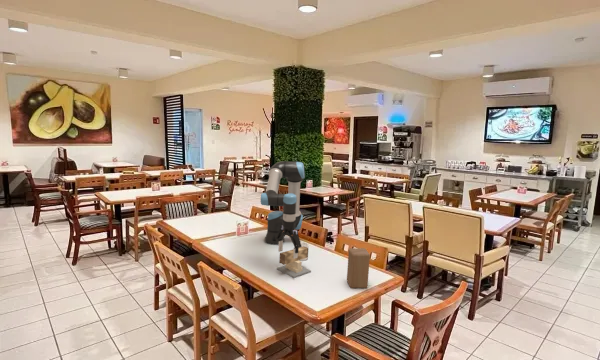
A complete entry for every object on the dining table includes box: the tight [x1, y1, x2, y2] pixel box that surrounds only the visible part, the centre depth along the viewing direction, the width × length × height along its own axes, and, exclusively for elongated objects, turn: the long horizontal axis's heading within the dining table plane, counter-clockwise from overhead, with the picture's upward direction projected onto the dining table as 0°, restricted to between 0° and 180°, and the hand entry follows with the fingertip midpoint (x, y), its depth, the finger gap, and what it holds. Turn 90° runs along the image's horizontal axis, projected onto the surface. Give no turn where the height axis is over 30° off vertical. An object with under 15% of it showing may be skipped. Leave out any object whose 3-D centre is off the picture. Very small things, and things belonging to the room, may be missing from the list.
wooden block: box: [346, 247, 371, 289], centre depth 189 cm, size 10×10×20 cm
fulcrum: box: [276, 260, 312, 279], centre depth 205 cm, size 14×16×7 cm
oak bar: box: [278, 247, 309, 266], centre depth 204 cm, size 20×4×6 cm, turn 133°
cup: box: [296, 241, 309, 262], centre depth 224 cm, size 8×12×10 cm
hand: (287, 254), depth 200 cm, fingers open, 13 cm apart
